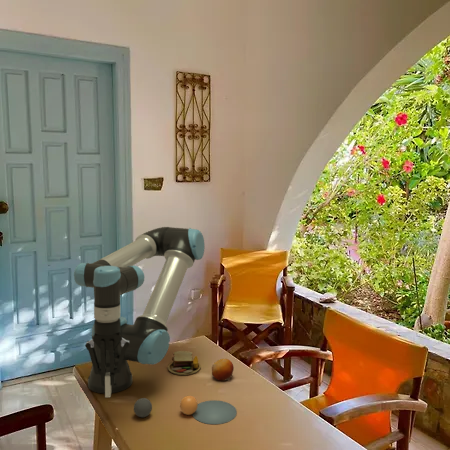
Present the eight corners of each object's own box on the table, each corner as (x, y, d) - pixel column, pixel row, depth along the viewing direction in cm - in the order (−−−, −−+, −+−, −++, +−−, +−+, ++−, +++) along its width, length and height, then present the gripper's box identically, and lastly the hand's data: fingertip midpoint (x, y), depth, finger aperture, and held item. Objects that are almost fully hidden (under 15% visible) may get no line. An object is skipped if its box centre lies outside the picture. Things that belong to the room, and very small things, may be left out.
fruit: (236, 380, 164) (225, 360, 164) (217, 389, 166) (206, 369, 166) (240, 370, 172) (229, 352, 172) (222, 379, 174) (211, 360, 174)
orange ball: (176, 414, 144) (176, 397, 143) (187, 407, 148) (187, 390, 148) (190, 420, 141) (190, 402, 140) (201, 412, 145) (201, 395, 145)
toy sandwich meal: (165, 376, 170) (165, 364, 170) (170, 361, 184) (170, 349, 183) (199, 377, 170) (199, 364, 170) (201, 361, 184) (201, 350, 183)
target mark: (182, 415, 143) (182, 414, 143) (208, 396, 155) (208, 396, 155) (220, 429, 136) (220, 428, 136) (244, 408, 148) (244, 408, 148)
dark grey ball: (130, 417, 142) (129, 400, 141) (142, 409, 146) (142, 393, 146) (143, 422, 139) (143, 405, 138) (155, 414, 143) (155, 397, 143)
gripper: (82, 323, 133) (83, 402, 136) (129, 322, 135) (129, 400, 137) (86, 315, 140) (87, 390, 143) (130, 314, 142) (131, 388, 145)
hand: (108, 395), depth 140 cm, fingers closed
